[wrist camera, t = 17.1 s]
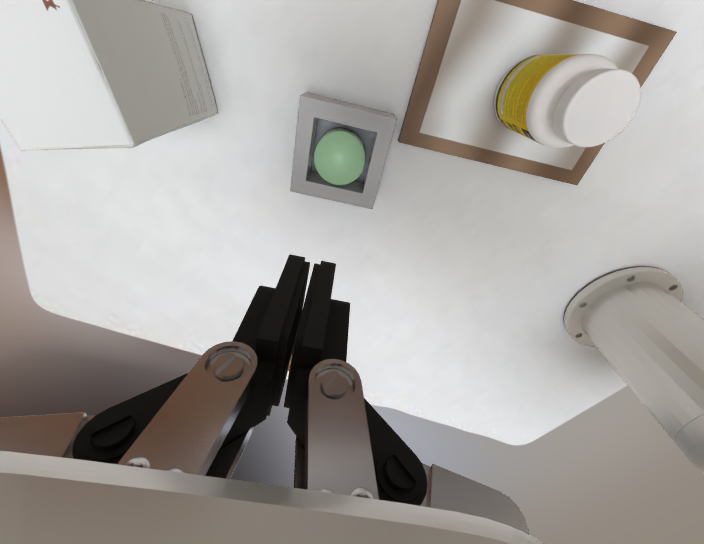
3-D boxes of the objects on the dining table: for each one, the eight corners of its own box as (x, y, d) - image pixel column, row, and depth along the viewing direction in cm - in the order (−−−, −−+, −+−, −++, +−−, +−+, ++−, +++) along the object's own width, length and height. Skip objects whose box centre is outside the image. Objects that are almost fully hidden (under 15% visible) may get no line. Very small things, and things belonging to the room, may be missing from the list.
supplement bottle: (483, 127, 27) (534, 155, 19) (505, 51, 24) (578, 46, 16) (544, 132, 27) (621, 162, 19) (574, 58, 24) (681, 55, 16)
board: (668, 32, 24) (679, 31, 23) (572, 182, 30) (578, 186, 29) (447, -34, 22) (450, -38, 21) (398, 140, 29) (399, 142, 28)
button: (370, 134, 27) (370, 139, 25) (358, 182, 29) (358, 189, 28) (320, 122, 26) (318, 126, 25) (313, 172, 29) (310, 179, 27)
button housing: (394, 114, 27) (397, 119, 25) (372, 197, 32) (372, 209, 29) (306, 92, 27) (300, 95, 24) (296, 181, 31) (290, 191, 29)
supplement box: (103, 17, 24) (-93, -17, 14) (194, 12, 24) (61, -27, 13) (143, 120, 28) (15, 153, 18) (220, 117, 28) (135, 148, 18)
